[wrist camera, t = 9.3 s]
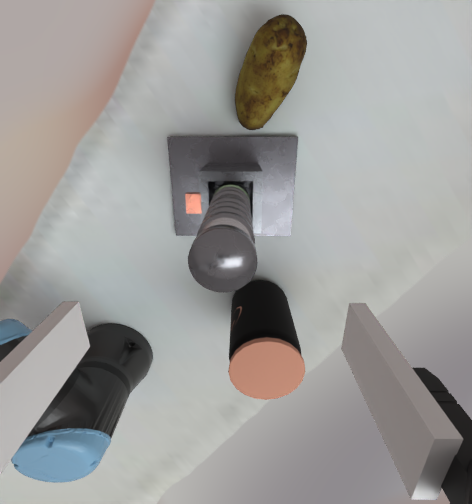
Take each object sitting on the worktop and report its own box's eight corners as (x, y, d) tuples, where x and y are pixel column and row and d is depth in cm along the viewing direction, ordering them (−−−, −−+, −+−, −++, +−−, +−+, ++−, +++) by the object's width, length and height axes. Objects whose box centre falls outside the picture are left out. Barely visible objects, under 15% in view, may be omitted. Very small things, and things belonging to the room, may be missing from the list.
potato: (212, 96, 43) (207, 89, 36) (274, 17, 39) (282, -9, 32) (253, 137, 45) (255, 138, 38) (315, 66, 41) (331, 51, 34)
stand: (177, 233, 51) (160, 259, 41) (168, 136, 45) (147, 138, 35) (289, 234, 51) (302, 260, 41) (296, 136, 45) (313, 138, 35)
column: (214, 214, 42) (190, 292, 22) (213, 179, 40) (185, 229, 20) (248, 214, 42) (256, 292, 22) (249, 179, 40) (258, 229, 20)
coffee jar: (231, 277, 55) (226, 341, 38) (287, 276, 54) (308, 340, 38) (232, 324, 59) (229, 400, 42) (285, 323, 58) (302, 400, 42)
